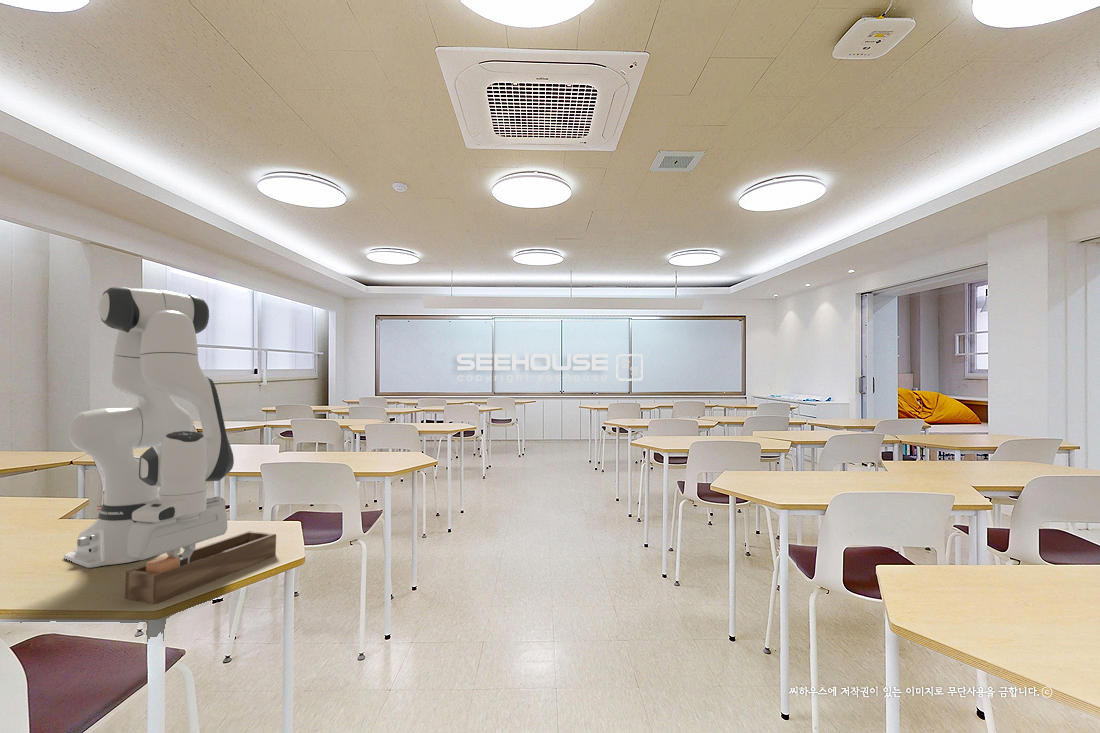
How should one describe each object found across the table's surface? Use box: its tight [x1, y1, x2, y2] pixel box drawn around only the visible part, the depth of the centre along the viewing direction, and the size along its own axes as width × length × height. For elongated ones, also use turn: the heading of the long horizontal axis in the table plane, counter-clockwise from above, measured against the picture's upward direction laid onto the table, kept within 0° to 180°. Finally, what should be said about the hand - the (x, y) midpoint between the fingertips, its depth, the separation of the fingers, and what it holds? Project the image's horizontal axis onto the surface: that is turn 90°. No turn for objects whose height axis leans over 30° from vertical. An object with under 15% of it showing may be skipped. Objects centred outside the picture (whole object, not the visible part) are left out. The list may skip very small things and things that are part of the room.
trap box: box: [124, 530, 277, 604], centre depth 116 cm, size 9×30×6 cm, turn 164°
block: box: [145, 555, 179, 574], centre depth 106 cm, size 4×4×4 cm
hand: (180, 566), depth 109 cm, fingers closed
